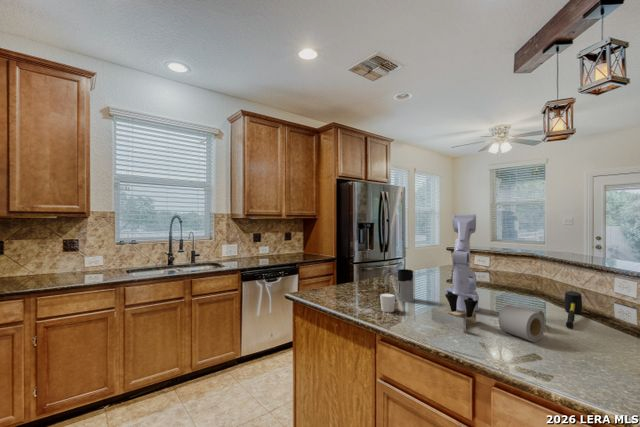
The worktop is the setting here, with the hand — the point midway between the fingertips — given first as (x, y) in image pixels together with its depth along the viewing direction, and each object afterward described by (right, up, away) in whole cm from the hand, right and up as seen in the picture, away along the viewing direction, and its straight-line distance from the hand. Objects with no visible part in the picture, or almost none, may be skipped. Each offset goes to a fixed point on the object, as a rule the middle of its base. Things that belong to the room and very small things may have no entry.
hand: (461, 314), depth 125 cm
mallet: (+48, -4, +4) cm, 48 cm away
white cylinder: (+26, -4, -3) cm, 27 cm away
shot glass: (-26, -4, +17) cm, 31 cm away
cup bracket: (-6, -4, -3) cm, 7 cm away
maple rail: (0, -4, 0) cm, 4 cm away
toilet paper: (+15, -4, -14) cm, 21 cm away
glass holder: (-16, -4, +35) cm, 38 cm away
